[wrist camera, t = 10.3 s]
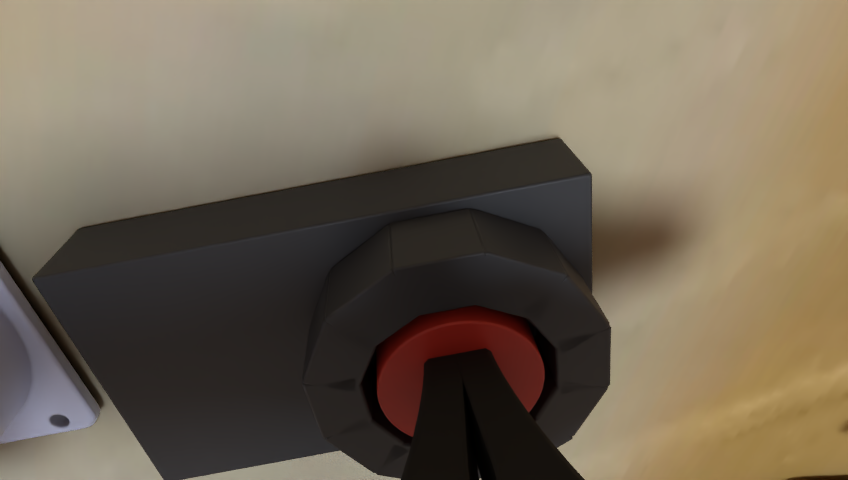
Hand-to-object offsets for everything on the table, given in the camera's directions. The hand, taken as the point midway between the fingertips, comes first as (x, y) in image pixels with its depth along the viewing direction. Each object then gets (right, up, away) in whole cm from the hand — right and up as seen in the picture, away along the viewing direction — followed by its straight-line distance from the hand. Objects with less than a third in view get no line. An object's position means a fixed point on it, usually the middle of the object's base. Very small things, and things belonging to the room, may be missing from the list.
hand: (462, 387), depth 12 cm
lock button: (0, +1, +1) cm, 2 cm away
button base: (-3, +2, +4) cm, 5 cm away
